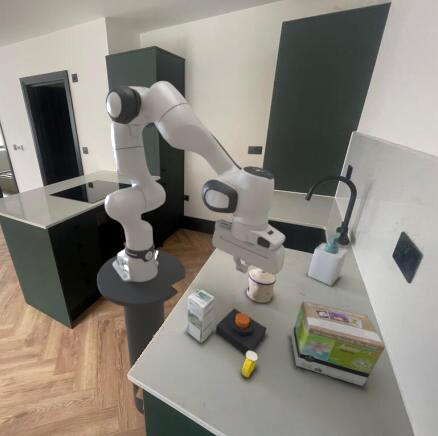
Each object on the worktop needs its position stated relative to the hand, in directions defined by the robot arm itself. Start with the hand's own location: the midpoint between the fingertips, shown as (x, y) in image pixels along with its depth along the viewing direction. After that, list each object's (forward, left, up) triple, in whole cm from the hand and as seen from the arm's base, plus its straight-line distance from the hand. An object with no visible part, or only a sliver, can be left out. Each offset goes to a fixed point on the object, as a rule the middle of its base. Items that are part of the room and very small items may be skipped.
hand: (241, 270), depth 67 cm
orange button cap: (+4, -3, -15) cm, 16 cm away
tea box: (+24, +6, -20) cm, 32 cm away
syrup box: (-5, -12, -20) cm, 24 cm away
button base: (+4, -3, -20) cm, 21 cm away
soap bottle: (+13, +47, -20) cm, 53 cm away
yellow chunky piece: (+11, -12, -20) cm, 26 cm away
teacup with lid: (0, +16, -20) cm, 26 cm away
